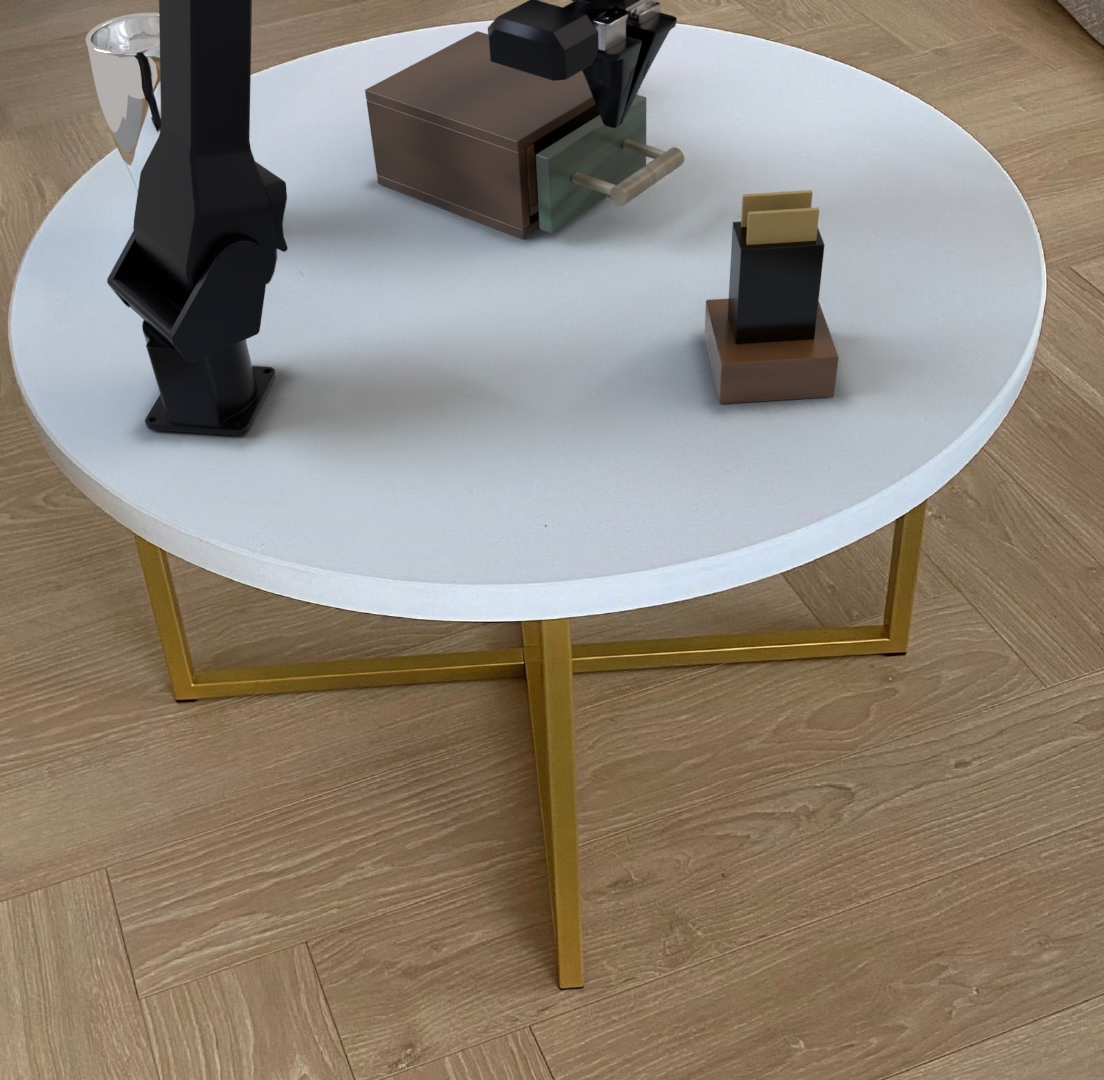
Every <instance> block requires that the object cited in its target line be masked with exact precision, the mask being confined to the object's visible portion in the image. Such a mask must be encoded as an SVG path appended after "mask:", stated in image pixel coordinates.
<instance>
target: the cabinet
mask: <svg viewBox="0 0 1104 1080" xmlns="http://www.w3.org/2000/svg"><path fill="white" fill-rule="evenodd" d="M364 93H365V100H366V107H367V115H368V121H369V129H370V136H371V144H372V150H373V158H374V165H375V172H376V178H377V184H378V185H381V186H383V187H386V188H388V189H390V190H394V191H396V192H399V193H402V194H404V195H406V196H409V197H411V198H414V199H417V200H420V201H422V202H425V203H427V204H430V205H432V206H435V207H437V208H441V209H443V210H446V211H448V212H451V213H453V214H456V215H457V216H461V217H463V218H467V219H468V220H472V221H475V222H476V223H479V224H481V225H485V226H488V227H490V228H492V229H494V230H498V231H500V232H503V233H505V234H508V235H511V236H513V237H515V238H519V239H521V240H525V239H527V238H528V237H530V236H532V235H533V234H534V233H536V232H537V231H539V230H540V226H539V211H538V212H536V213H535V214H533V215H532V216H529V205H528V188H527V171H526V154H525V147H527V146H529V145H530V144H532V143H534V142H535V141H537V140H539V139H540V138H542V137H543V136H545V135H547V134H548V133H550V132H552V131H553V130H555V129H556V128H558V127H560V126H561V125H563V124H565V123H566V122H568V121H569V120H571V119H573V118H574V117H576V116H578V115H579V114H581V113H582V112H584V111H586V110H587V109H589V108H591V107H592V106H594V105H595V101H594V99H593V96H592V94H591V91H590V88H589V86H588V83H587V81H586V78H585V76H584V74H583V72H582V71H580V72H578V73H577V74H575V75H573V76H571V77H570V78H568V79H566V80H556V81H552V80H549V79H546V78H543V77H539V76H536V75H533V74H530V73H527V72H523V71H520V70H517V69H514V68H510V67H507V66H504V65H501V64H497V63H494V62H491V60H490V53H489V39H488V33H485V32H481V31H478V30H477V31H474V32H473V33H470V34H469V35H467V36H465V37H463V38H461V39H459V40H457V41H456V42H453V43H452V44H449V45H448V46H446V47H444V48H442V49H440V50H438V51H436V52H434V53H432V54H430V55H428V56H426V57H425V58H423V59H420V60H419V61H417V62H416V63H413V64H410V65H409V66H407V67H406V68H404V69H402V70H400V71H398V72H396V73H394V74H392V75H391V76H388V77H386V78H384V79H382V80H381V81H379V82H376V83H374V84H373V85H371V86H370V87H368V88H365V89H364Z"/></svg>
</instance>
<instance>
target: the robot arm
mask: <svg viewBox="0 0 1104 1080" xmlns="http://www.w3.org/2000/svg"><path fill="white" fill-rule="evenodd" d="M571 1H572V2H569V3H568V4H566V5H564V6H560V5H556V4H552V3H548V2H545V1H542V0H541V1H538V0H527V1H525V2H523V3H521V4H519V5H516V7H513V8H512V9H510V10H508V11H506V12H504V13H502V14H500V15H498V16H496V18H495V19H494V20H493V21H492V22H491V23H490V25H489V26H488V27H487V34H488V39H489V53H490V60H491V62H494V63H497V64H501V65H504V66H507V67H510V68H514V69H517V70H520V71H523V72H527V73H530V74H533V75H536V76H539V77H543V78H546V79H549V80H552V81H556V80H566V79H568V78H570V77H571V76H573V75H575V74H577V73H578V72H580V71H582V72H583V74H584V76H585V78H586V81H587V83H588V86H589V88H590V91H591V94H592V96H593V99H594V101H595V104H596V106H597V109H598V112H599V114H600V117H601V119H602V122H603V124H604V125H605V126H608V127H611V128H617V127H618V126H620V125H621V124H622V123H623V122H624V119H625V117H626V115H627V113H628V111H629V109H630V107H631V105H632V103H633V101H634V99H635V97H636V95H638V93H639V91H640V88H641V86H642V85H643V82H644V80H645V78H646V76H647V75H648V72H649V70H650V68H651V66H652V64H653V62H654V61H655V59H656V57H657V55H658V53H659V52H660V50H661V48H662V46H663V44H664V42H665V41H666V39H667V37H668V35H669V34H670V31H671V30H672V29H674V28H675V27H676V25H677V22H678V21H677V19H678V18H677V17H676V16H675V15H672V14H668V13H664V12H661V2H659V1H658V0H571ZM158 13H159V30H160V87H161V129H160V134H159V137H158V139H157V141H156V143H155V145H154V147H153V149H152V151H151V153H150V155H149V157H148V159H147V161H146V163H145V165H144V167H143V169H142V171H141V174H140V180H139V187H138V192H137V193H136V194H137V196H136V202H135V209H134V210H135V211H134V215H133V216H134V217H133V231H132V233H131V234H130V237H129V239H128V240H127V242H126V244H125V245H124V247H123V249H122V250H121V253H120V255H119V257H118V258H117V260H116V262H115V264H114V266H113V267H112V270H111V271H110V272H109V275H108V277H107V279H106V282H107V285H108V286H109V288H110V289H111V290H112V291H113V292H114V294H115V295H116V296H117V297H118V299H119V300H120V301H121V303H122V304H124V305H125V306H126V307H128V308H130V309H131V310H132V311H134V312H135V313H136V314H137V315H138V316H139V317H140V318H141V319H142V320H143V321H142V325H141V328H142V333H143V336H144V340H145V344H146V345H145V347H146V351H147V354H148V358H149V361H150V364H151V368H152V371H153V375H154V377H155V382H156V385H157V388H158V391H159V395H158V397H157V399H156V400H155V402H154V404H153V405H152V407H151V409H150V410H149V412H148V414H147V415H146V416H145V419H144V424H145V426H146V427H145V428H147V429H148V430H149V431H150V430H151V431H162V432H163V431H164V432H178V433H194V434H208V435H223V436H224V435H226V436H244V435H246V434H248V432H249V431H250V430H251V427H252V425H253V423H254V421H255V419H256V418H257V415H258V413H259V411H260V409H261V407H262V405H263V403H264V402H265V399H266V397H267V396H268V393H269V391H270V390H271V387H272V385H273V383H274V381H275V379H276V378H277V375H276V374H277V373H276V370H275V368H274V367H271V366H262V365H261V366H260V365H259V366H258V365H253V363H252V360H251V355H250V352H249V347H248V343H247V342H248V341H247V340H248V339H250V338H253V337H254V336H256V335H257V336H258V334H259V333H260V331H261V325H262V318H263V317H262V316H263V309H264V302H265V295H266V287H267V285H269V284H270V283H271V281H272V279H273V277H274V276H275V275H274V274H275V272H276V267H277V261H278V250H279V251H281V252H282V253H283V252H284V253H286V252H287V251H288V250H289V249H288V248H289V247H288V244H287V241H286V239H285V236H284V225H283V224H284V216H285V210H286V206H287V201H288V193H287V183H286V181H285V180H283V179H282V178H280V177H279V176H277V175H276V174H275V173H273V172H272V171H270V170H269V169H267V168H266V167H264V166H263V165H262V164H260V163H258V161H256V160H255V157H254V155H253V151H252V148H251V142H250V139H251V138H250V133H251V131H250V126H251V124H250V123H251V78H252V77H251V76H252V27H253V26H252V24H253V23H252V21H253V0H158Z"/></svg>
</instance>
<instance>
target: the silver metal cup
mask: <svg viewBox="0 0 1104 1080" xmlns="http://www.w3.org/2000/svg"><path fill="white" fill-rule="evenodd" d="M85 43H86V47H87V51H88V57H89V61H90V67H91V71H92V77H93V81H94V87H95V90H96V94H97V98H98V102H99V105H100V108H101V111H102V114H103V117H104V121H105V123H106V125H107V127H108V130H109V133H110V135H111V137H112V139H113V142H114V144H115V146H116V148H117V150H118V152H119V154H120V156H121V158H122V160H123V162H124V164H125V167H126V168H127V171H128V173H129V175H130V177H131V179H132V181H133V184H134V186H135V189H136V192H137V193H138V187H139V180H140V174H141V171H142V169H143V167H144V165H145V163H146V161H147V159H148V157H149V155H150V153H151V151H152V149H153V147H154V145H155V143H156V141H157V139H158V137H159V134H160V129H161V87H160V30H159V12H137V13H132V14H131V13H130V14H126V15H121V16H117V17H114V18H111V19H109V20H106V21H104V22H100V23H99V24H97V25H95V26H94V27H93V28H92V29H90V30H89V32H87V34H86V36H85Z"/></svg>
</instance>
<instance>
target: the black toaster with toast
mask: <svg viewBox="0 0 1104 1080" xmlns="http://www.w3.org/2000/svg"><path fill="white" fill-rule="evenodd" d="M813 193H814V192H813V190H812V189H805V190H791V191H788V190H787V191H774V192H758V193H743V194H742V197H741V199H742V201H741V214H740V221H733V222H732V228H731V229H732V232H731V250H730V265H729V266H730V267H729V268H730V269H729V284H728V298H729V300H728V318H729V322H730V325H731V329H732V333H733V337H734V341H735V344H746V343H762V342H777V341H793V340H809V339H814V338H815V329H816V320H817V311H818V301H819V302H820V292H821V282H822V273H823V263H824V256H825V255H824V254H825V242H824V240H823V238H822V234H821V232H820V229H819V220H820V219H819V217H820V208H819V207H818V206H817V207H816V206H815V207H812V203H813Z"/></svg>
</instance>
